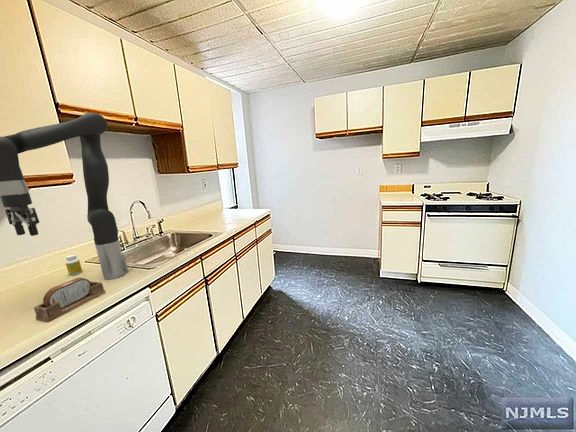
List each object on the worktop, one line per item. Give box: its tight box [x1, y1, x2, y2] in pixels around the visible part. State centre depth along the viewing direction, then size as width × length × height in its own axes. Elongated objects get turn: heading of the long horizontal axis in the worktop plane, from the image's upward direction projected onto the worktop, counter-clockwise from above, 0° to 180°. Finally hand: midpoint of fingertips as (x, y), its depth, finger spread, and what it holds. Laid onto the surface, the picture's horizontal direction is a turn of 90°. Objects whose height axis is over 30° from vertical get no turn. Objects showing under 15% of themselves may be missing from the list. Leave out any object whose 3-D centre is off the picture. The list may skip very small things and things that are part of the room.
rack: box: [33, 280, 107, 323], centre depth 97 cm, size 7×20×5 cm, turn 161°
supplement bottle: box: [65, 254, 83, 277], centre depth 129 cm, size 5×5×10 cm
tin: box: [42, 277, 91, 309], centre depth 96 cm, size 15×3×8 cm, turn 161°
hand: (28, 235), depth 97 cm, fingers open, 8 cm apart
